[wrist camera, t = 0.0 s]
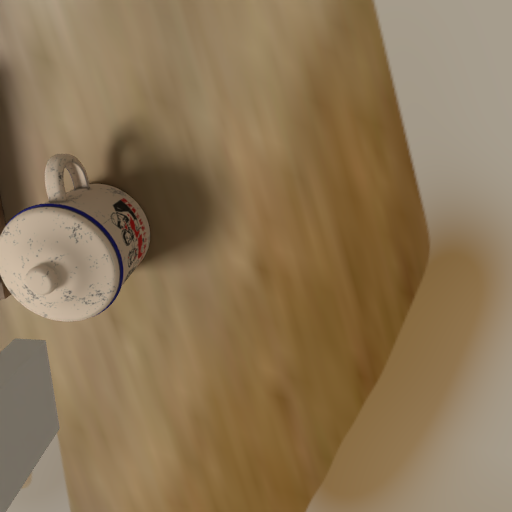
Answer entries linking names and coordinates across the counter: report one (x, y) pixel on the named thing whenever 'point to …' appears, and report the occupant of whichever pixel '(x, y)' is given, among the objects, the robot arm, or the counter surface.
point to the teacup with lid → (73, 246)
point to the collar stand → (0, 288)
